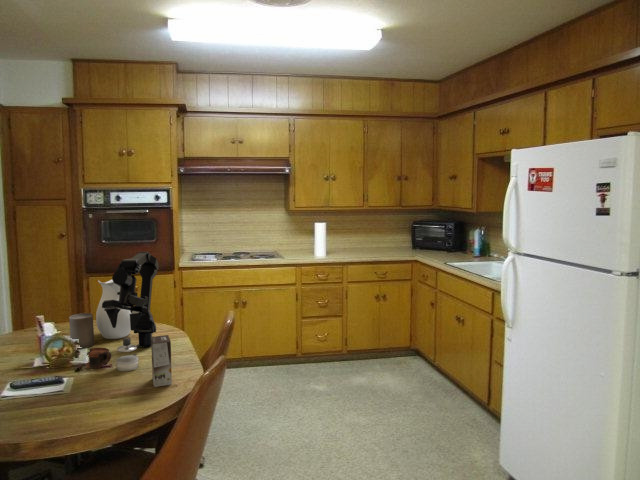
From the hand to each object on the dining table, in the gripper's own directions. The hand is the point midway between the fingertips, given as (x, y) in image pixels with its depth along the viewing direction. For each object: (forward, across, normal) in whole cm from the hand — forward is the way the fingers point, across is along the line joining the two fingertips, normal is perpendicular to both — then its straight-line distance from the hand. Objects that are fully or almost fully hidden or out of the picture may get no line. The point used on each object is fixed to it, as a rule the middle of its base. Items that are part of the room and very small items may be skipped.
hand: (123, 329), depth 193 cm
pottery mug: (+13, +3, +14) cm, 19 cm away
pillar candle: (+3, +15, +40) cm, 43 cm away
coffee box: (+20, +2, -20) cm, 28 cm away
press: (+14, +7, +2) cm, 16 cm away
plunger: (+7, +3, 0) cm, 8 cm away
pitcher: (-4, +34, +38) cm, 51 cm away
